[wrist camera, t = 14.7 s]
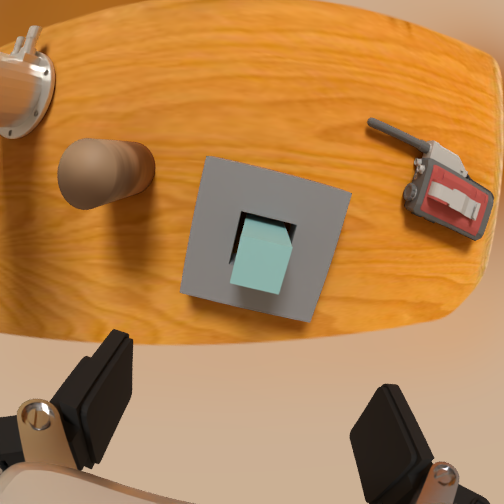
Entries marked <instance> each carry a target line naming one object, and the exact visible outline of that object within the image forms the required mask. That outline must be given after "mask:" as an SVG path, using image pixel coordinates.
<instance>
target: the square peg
mask: <svg viewBox="0 0 504 504" xmlns="http://www.w3.org/2000/svg"><path fill="white" fill-rule="evenodd" d="M292 248H293V247H292V244H291V241H290V239H289V236H288V233H287V230H286V227H285V224H284V222H282V221H278V220H274V219H270V218H266V217H262V216H258V215H254V214H250V213H247V215H246V219H245V223H244V226H243V230H242V234H241V238H240V242H239V246H238V250H237V254H236V259H235V263H234V267H233V271H232V275H231V280H230V283H231V284H236V285H240V286H244V287H248V288H252V289H257V290H261V291H265V292H270V293H274V294H279V292H280V289H281V285H282V282H283V279H284V275H285V272H286V269H287V265H288V262H289V259H290V255H291V252H292Z"/></svg>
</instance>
